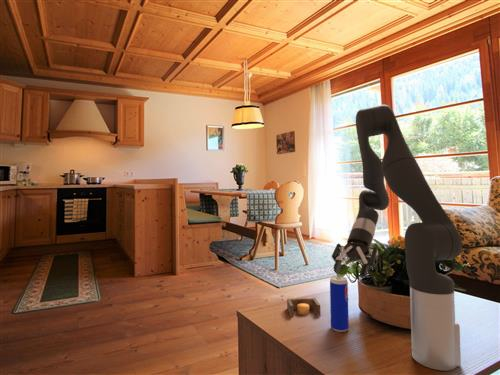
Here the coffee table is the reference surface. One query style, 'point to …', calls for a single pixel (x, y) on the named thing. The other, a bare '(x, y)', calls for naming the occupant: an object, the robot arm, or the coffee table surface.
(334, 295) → the beverage can
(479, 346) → the coffee table surface
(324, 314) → the coffee table surface
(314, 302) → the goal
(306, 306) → the orange rounded puck
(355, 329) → the coffee table surface
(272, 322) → the coffee table surface
